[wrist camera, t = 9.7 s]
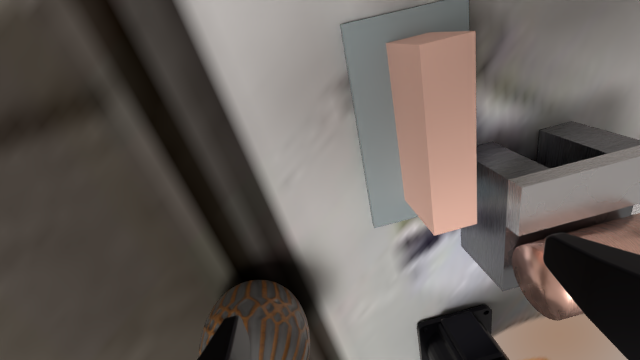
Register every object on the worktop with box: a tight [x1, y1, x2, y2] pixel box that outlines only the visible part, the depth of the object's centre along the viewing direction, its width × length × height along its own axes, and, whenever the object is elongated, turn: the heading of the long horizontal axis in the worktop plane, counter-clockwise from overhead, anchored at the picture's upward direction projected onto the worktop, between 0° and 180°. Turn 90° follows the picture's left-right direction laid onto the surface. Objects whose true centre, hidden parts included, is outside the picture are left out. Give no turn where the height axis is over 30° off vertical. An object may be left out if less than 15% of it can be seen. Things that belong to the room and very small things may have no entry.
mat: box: [340, 0, 469, 228], centre depth 20 cm, size 13×7×1 cm, turn 12°
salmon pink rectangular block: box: [386, 31, 477, 236], centre depth 18 cm, size 10×2×4 cm, turn 13°
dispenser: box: [461, 122, 640, 320], centre depth 19 cm, size 8×8×9 cm
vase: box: [199, 280, 310, 360], centre depth 20 cm, size 7×7×9 cm
